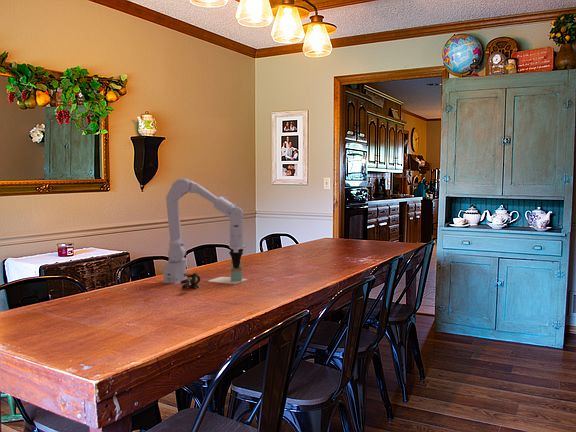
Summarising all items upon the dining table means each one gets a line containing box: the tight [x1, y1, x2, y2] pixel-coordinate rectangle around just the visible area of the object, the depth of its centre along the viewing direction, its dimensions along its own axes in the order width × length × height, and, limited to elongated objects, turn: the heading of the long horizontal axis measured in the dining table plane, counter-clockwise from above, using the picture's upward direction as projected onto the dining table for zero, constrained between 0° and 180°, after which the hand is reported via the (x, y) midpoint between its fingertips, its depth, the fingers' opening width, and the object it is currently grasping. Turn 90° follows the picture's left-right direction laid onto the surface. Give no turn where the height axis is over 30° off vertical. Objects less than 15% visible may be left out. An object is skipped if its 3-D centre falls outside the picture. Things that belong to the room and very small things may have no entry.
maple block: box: [230, 260, 243, 273], centre depth 213 cm, size 4×4×4 cm
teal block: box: [230, 271, 243, 282], centre depth 213 cm, size 4×4×4 cm
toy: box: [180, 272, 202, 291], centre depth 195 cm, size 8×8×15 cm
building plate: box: [208, 276, 248, 285], centre depth 213 cm, size 11×14×1 cm
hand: (236, 267), depth 213 cm, fingers open, 5 cm apart
